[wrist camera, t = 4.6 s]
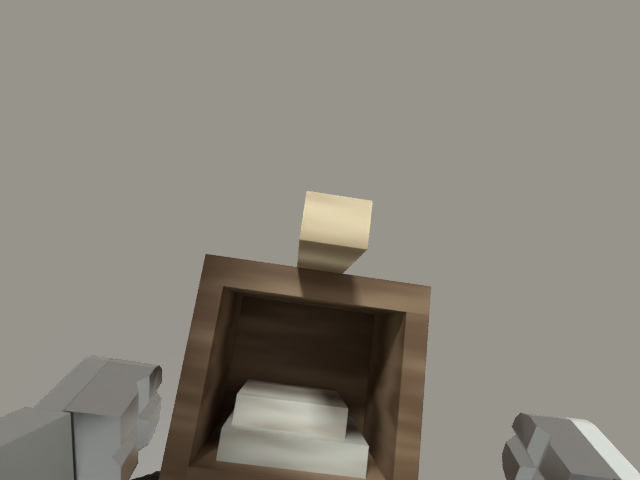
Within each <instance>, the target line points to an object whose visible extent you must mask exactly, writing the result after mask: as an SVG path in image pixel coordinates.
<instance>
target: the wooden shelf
mask: <svg viewBox="0 0 640 480" xmlns="http://www.w3.org/2000/svg"><path fill="white" fill-rule="evenodd" d="M430 292H431V287H430V286H423V285H417V284H410V283H402V282H396V281H389V280H382V279H375V278H368V277H361V276H354V275H347V274H340V273H333V272H327V271H320V270H313V269H306V268H299V267H292V266H285V265H277V264H271V263H264V262H257V261H250V260H243V259H237V258H230V257H223V256H216V255H209V254H206V255H205V260H204V265H203V270H202V274H201V279H200V284H199V289H198V294H197V299H196V304H195V308H194V313H193V318H192V322H191V327H190V332H189V337H188V342H187V346H186V351H185V356H184V361H183V366H182V371H181V375H180V380H179V385H178V390H177V395H176V400H175V404H174V409H173V414H172V419H171V423H170V428H169V433H168V438H167V443H166V448H165V452H164V457H163V462H162V467H161V471H160V476H159V480H418V471H419V456H420V441H421V426H422V412H423V397H424V382H425V366H426V353H427V338H428V337H427V336H428V323H429V308H430V307H429V306H430Z"/></svg>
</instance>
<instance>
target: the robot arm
mask: <svg viewBox="0 0 640 480" xmlns="http://www.w3.org/2000/svg"><path fill="white" fill-rule="evenodd" d="M161 382H162V369H161V367H160V366H159V365H153V364H147V363H140V362H134V361H127V360H121V359H112V358H105V357H98V356H89V357H86V358H84V359H83V360H82V361H81V362H80V363H79V364H78V365H77V366H76V367H75V368H74V369H73V370H72V371H71V372H70V373H69V374H68V375H67V376H65V378H63V379H62V380H61V381H60V382H59V383H58V384H57V385H56V386H55V387H54V388H53V389H52V390H51V391H50V392H49V393H48V394H47V395H46V396H45V397H44V398H43V399H42V400H41V401H40V402H39V403H38V404H37V405H36V406H35V407H34V408H29V407H24V408H22V409H19V410H17V411H15V412H12V413H10V414H7V415H5V416H3V417H0V480H129V479H130V477H131V475H132V473H133V471H134V469H135V468H136V466H137V464H138V451H139V450H141V449H142V448H144V447H145V446H147V445H148V444H149V442H150V440H151V438H152V436H153V434H154V432H155V429H156V426H157V423H158V420H159V415H160V409H161V397H160V396H159V394H158V393H157V392H156V390H157V389H158V387H159V385H160V384H161ZM512 428H513V430H514V433H515V436H514V437H512V438H511V439H509V440H508V441H507V442H506V444H505V447H504V450H503V453H502V462H503V470H504V473H505V477H506V479H507V480H640V474H639V473H638V472H637V470H636V469H635V468H634V467H633V466H632V465H631V464H630V463H629V462H628V461H627V460H626V459H625V457H624V456H623V455H622V454H621V453H620V452H619V451H618V450H617V449H616V448H615V447H614V446H613V445H612V443H611V442H610V441H609V440H608V439H607V438H606V437H605V436H604V435H603V434H602V433H601V432H600V430H599V429H598V428H597V427H596V426H595V425H594V424H592V423H590V422H589V421H587V420H583V419H573V418H558V417H550V416H542V415H534V414H525V413H520V414H519V415H518V416H517V417H516V418H515V420H514V423H513V425H512Z"/></svg>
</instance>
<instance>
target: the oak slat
mask: <svg viewBox="0 0 640 480" xmlns="http://www.w3.org/2000/svg"><path fill="white" fill-rule="evenodd" d="M372 203H373V201H369V200H363V199H356V198H350V197H343V196H337V195H330V194H323V193H316V192H311V191H307V194H306V200H305V207H304V213H303V221H302V227H301V233H300V240H299V253H298V263H297V267H299V268H306V269H313V270H320V271H327V272H333V273H340V274H342V273H344V271H346V270H347V269H348V268H349V267H350V266H351V265H352V264H353V263H354V262H355V261H356V260H357V259H358V258H359V257H360V256H361V255H362V254H363V253H364V252H365V251H366V250H367V248H368V239H369V231H370V222H371V211H372Z"/></svg>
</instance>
